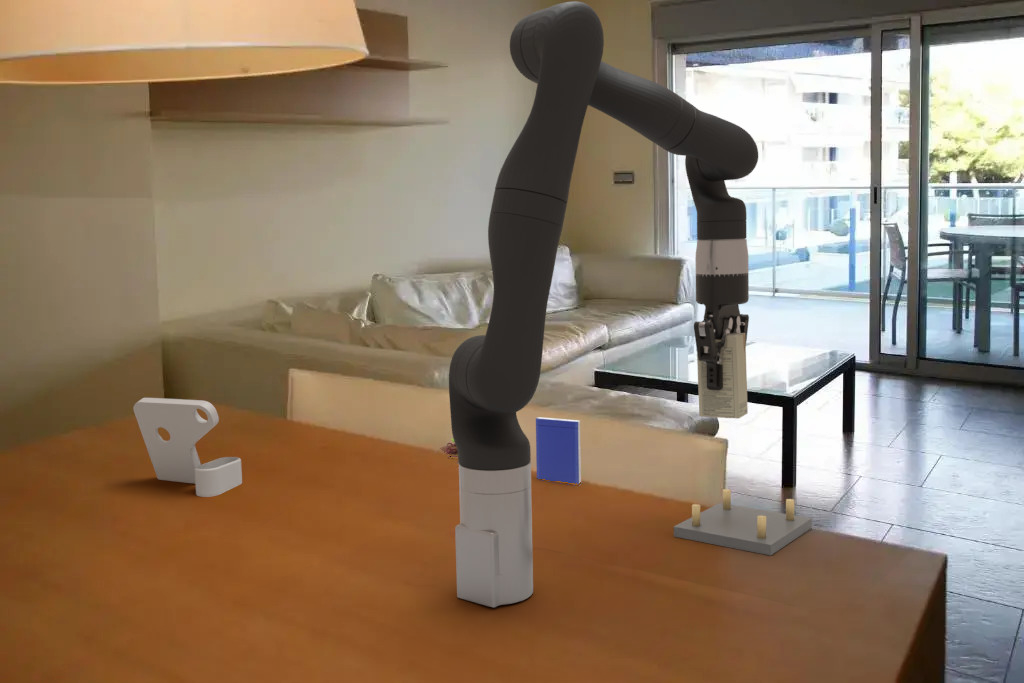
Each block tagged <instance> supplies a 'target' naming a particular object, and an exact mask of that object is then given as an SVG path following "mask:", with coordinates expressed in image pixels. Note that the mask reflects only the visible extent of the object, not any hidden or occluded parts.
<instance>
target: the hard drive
mask: <svg viewBox="0 0 1024 683" xmlns="http://www.w3.org/2000/svg"><path fill="white" fill-rule="evenodd" d="M535 444H536V446H535V447H536V448H535V450H536V451H535V452H536V453H535V454H536V456H535V457H536V458H535V459H536V463H535V464H536V479H537V478H538V479H545V480H550V481H561V482H568V483H575V484H576V483H577V484H579V483H580V482H581V483H582V461H581V460H582V459H581V458H582V456H581V455H582V454H581V453H582V452H581V448H582V447H581V420H576V419H568V418H567V419H565V418H555V417H543V416H542V417H541V416H539V417H538V416H537V417H536V418H535ZM538 479H537V480H538ZM550 481H549V482H550Z"/></svg>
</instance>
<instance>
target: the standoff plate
mask: <svg viewBox="0 0 1024 683" xmlns="http://www.w3.org/2000/svg"><path fill="white" fill-rule="evenodd" d="M731 495H732V490H731V489H729V488H724V489H722V502H717V504H714V505H713V506H710V507H709V508H707V509H705V510H703V511H701V504H698V503H694V504H691V517H689V518H687V519H685V520H683V521H682V522H680V523H678V524H676V525H674V526H673V537H674V538H675V537H676V538H679V539H684V540H690V541H695V542H700V543H705V544H711V545H715V546H720V547H725V548H731V549H737V550H740V551H745V552H746V551H747V552H751V553H755V554H756V553H757V554H761V555H766V556H772V555H774V554H775V553H777V552H778V551H780V550H781V549H783V548H784V547H786V546H787V545H789V544H790V543H791V542H793V541H795V540H796V539H798V538H799V537H800V536H802V535H804V534H805V533H807V532H808V531H811V529H812V526H813V524H812V523H813V519H812V518H811V517H806V516H800V515H795V499H794V498H786V499H785V513H783V512H776V511H770V510H764V509H758V508H752V507H748V506H747V507H746V506H741V505H735V504H734V505H733V504H732V502H731V501H732V496H731Z"/></svg>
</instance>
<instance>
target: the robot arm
mask: <svg viewBox="0 0 1024 683" xmlns="http://www.w3.org/2000/svg"><path fill="white" fill-rule="evenodd" d="M604 39H605V37H604V30H603V25H602V21H601V19H600V17H599V16H598V14H597V12H596V11H595V10H594V9H593V8H592V7H591V6H590V5H589V4H588V3H585V2H582V1H576V0H572V1H564V2H561V3H557V4H554V5H551V6H549V7H546V8H543V9H539V10H537V11H534V12H532V13H530V14H528V15H526V16H524V17H523V18H521V19H520V20H519V21H518V22H517V23H516V25H515V26H514V28H513V29H512V32H511V35H510V39H509V54H510V56H511V57H510V58H511V60H512V63H513V64H514V66H515V67H516V69H517V70H518V71H519V73H520V74H522V76H523V77H524V78H526V79H527V80H529V81H530V82H533V83H535V84H537V85H536V90H535V95H534V96H535V97H534V100H533V104H532V107H531V109H530V113H529V115H528V117H527V120H526V121H525V124H524V125H523V128H522V130H521V131H520V133H519V135H518V137H517V139H516V140H515V141H514V143H513V145H512V147H511V149H510V150H509V152H508V155H507V156H506V158H505V160H504V162H503V164H502V166H501V168H500V171H499V173H498V177H497V180H496V183H495V187H494V192H493V198H492V203H491V208H490V213H489V219H488V225H487V226H488V227H487V232H488V233H487V240H488V241H487V242H488V250H489V251H488V252H489V259H490V265H491V271H492V272H491V273H492V280H493V281H492V283H493V294H492V295H493V296H492V304H491V310H490V315H489V320H488V324H487V329H486V332H485V334H483V335H475V336H471V337H469V338H467V339H465V340H464V341H463V342H462V343H460V345H458V347H456V349H455V351H454V353H453V355H452V357H451V360H450V364H449V369H448V370H449V371H448V393H449V408H450V409H449V410H450V412H449V413H450V426H451V427H450V428H451V432H452V433H451V434H452V437H453V438H452V439H454V442H453V443H454V444H456V447H457V451H458V452H457V455H458V459H457V462H459V467H458V480H459V481H458V484H459V486H458V488H459V489H458V490H459V492H458V493H459V494H458V495H459V521H460V522H459V524H457V525H455V529H454V530H455V533H454V535H455V562H456V563H455V566H456V567H455V568H456V570H455V571H456V597H457V598H458V599H462V600H464V601H468V602H472V603H475V604H479V605H483V606H486V607H491V608H497V607H498V606H502V605H511V604H515V603H519V602H523V601H524V600H526V599H529V597H532V594H534V571H533V570H534V569H533V568H534V561H533V560H534V557H533V516H532V514H533V511H532V462H531V460H532V459H531V455H532V454H531V443H530V441H529V438H528V437H527V435H526V434H525V432H524V431H523V429H522V428H521V427H522V426H520V423H519V419H518V415H517V413H518V412H519V411H521V410H523V409H524V408H525V407H526V406H528V404H529V402H531V400H532V399H533V396H534V395H535V393H536V391H537V389H538V388H537V387H538V386H539V381H540V377H541V370H542V369H541V368H542V360H543V359H542V358H543V349H544V337H545V328H546V318H547V317H546V316H547V308H548V300H549V296H550V291H551V287H552V286H551V285H552V282H553V278H554V277H553V276H554V270H555V264H556V259H557V253H558V248H559V244H560V239H561V236H562V231H563V227H564V223H565V222H564V221H565V217H566V216H565V215H566V211H567V207H568V200H569V194H570V187H571V182H572V175H573V172H574V166H575V162H576V158H577V154H578V153H577V152H578V150H579V149H578V148H579V144H580V139H581V132H582V128H583V125H584V120H585V117H586V114H587V111H588V110H587V109H588V107H592V108H593V109H595V110H598V111H599V112H602V113H603V114H606V115H607V116H609V117H611V118H613V119H615V120H616V121H618V122H620V123H622V124H623V125H625V126H626V127H629V128H630V129H631V130H633V131H635V132H636V133H638V134H639V135H641V136H643V137H644V138H646V139H648V140H649V141H651V142H652V143H654V144H655V145H656V146H658V147H660V148H661V149H663V150H665V151H667V152H668V153H670V154H672V155H673V154H674V155H677V156H685V159H684V160H685V161H684V165H685V173H686V176H687V181H688V186H689V187H690V188H689V189H690V192H691V197H692V201H693V203H694V207H695V211H696V240H697V241H696V249H695V260H694V261H695V262H694V263H695V302H696V303H697V304H699V305H704V307H705V308H704V315H703V320H702V321H694V323H693V332H694V339H695V346H696V354H697V353H698V360H699V361H704V363H705V364H707V388H708V389H709V390H721V389H722V388H723V365H721V364H722V362H723V355H724V350H725V349H726V348H727V336H728V335H729V334H731V333H745V343H746V344H747V341H748V340H747V338H748V329H749V322H750V321H749V320H750V316H749V314H743V313H741V312H740V306H739V305H744V304H747V303H748V302H749V296H750V295H749V290H750V289H749V283H750V282H749V250H748V241H747V206H746V203H745V202H744V201H743V200H742V199H740V198H738V197H733V196H731V195H730V194H729V192H728V189H727V185H726V183H725V181H735V180H740V179H743V178H745V177H747V176H749V175H750V174H751V173H752V172H753V171H754V170H755V168H756V166H757V164H758V161H759V149H758V146H757V143H756V141H755V139H754V138H753V136H752V135H751V134H750V133H749V132H748V131H746V129H744V128H743V127H741V126H740V125H738V124H736V123H733V122H731V121H729V120H726V119H724V118H721V117H719V116H716V115H714V114H710V113H708V112H705V111H702V110H700V109H699V108H697V107H696V106H695V105H694V104H692V103H690V102H689V101H688V100H686V99H685V98H683V97H682V96H680V95H678V94H677V93H675V92H674V91H673V90H671V89H669V88H668V87H666V86H664V85H662V84H659V83H658V82H655V81H652V80H651V79H647V78H644V77H642V76H638V75H636V74H633V73H631V72H628V71H625V70H622V69H621V68H617V67H615V66H612V65H610V64H608V63H607V62H605V61H602V59H603V53H604V45H605V42H604V41H605V40H604ZM715 339H717V340H721V339H722V340H721V342H715ZM703 346H704V347H705V353H704V347H703ZM716 348H718V351H716Z"/></svg>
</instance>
